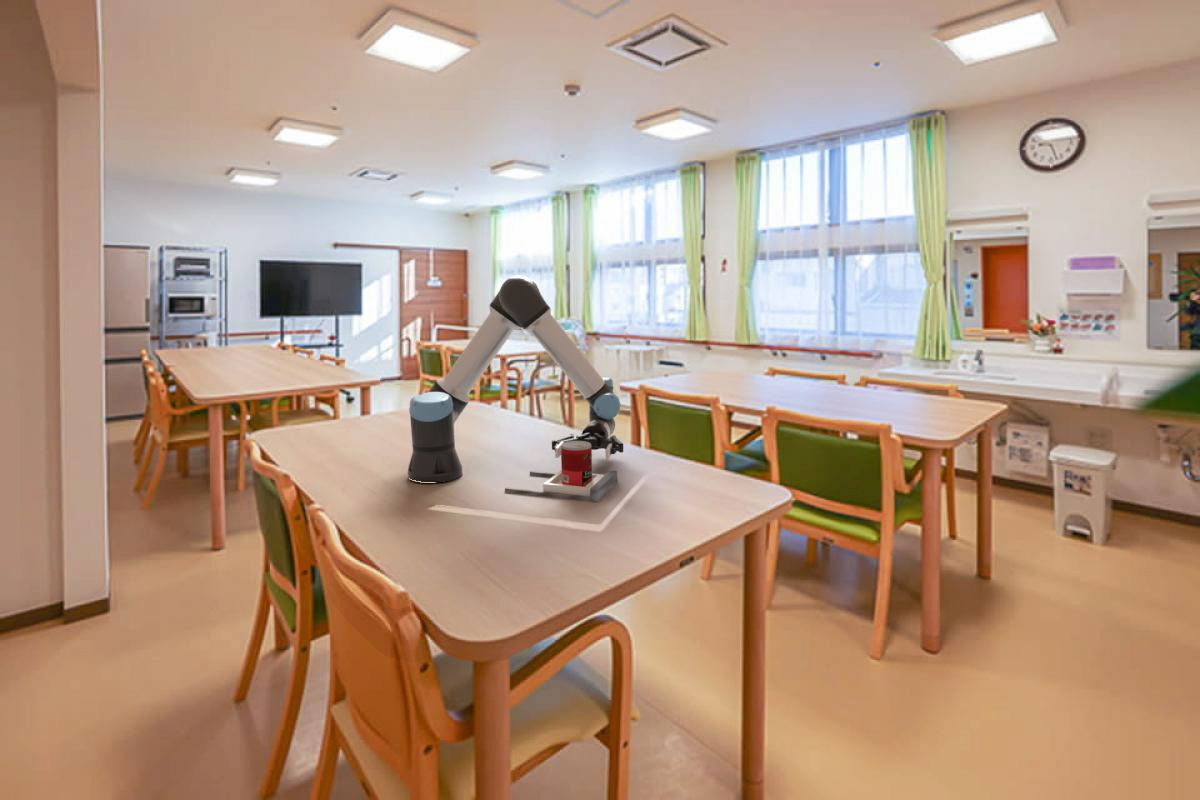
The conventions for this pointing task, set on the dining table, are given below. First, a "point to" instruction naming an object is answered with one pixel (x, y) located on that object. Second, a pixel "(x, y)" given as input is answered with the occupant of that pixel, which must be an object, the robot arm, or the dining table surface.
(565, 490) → the carriage
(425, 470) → the robot arm
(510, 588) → the dining table surface
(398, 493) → the dining table surface
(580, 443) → the canned food
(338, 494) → the dining table surface
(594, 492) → the slide board
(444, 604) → the dining table surface
